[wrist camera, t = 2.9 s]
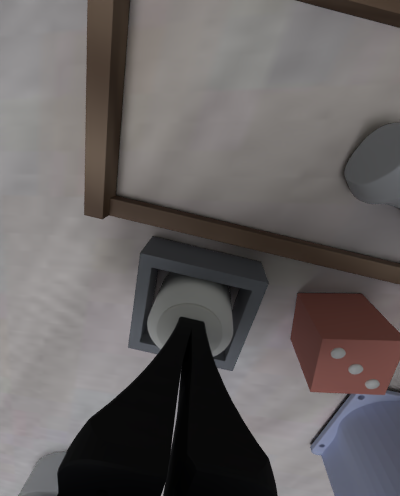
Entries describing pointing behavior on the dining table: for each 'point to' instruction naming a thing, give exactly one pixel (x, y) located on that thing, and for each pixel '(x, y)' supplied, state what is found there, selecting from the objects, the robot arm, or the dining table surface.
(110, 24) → the brown wooden frame
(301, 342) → the die
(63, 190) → the dining table surface
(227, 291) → the dome button
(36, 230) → the dining table surface
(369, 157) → the smooth white sculpture
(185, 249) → the grey square tray
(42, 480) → the honey pot
